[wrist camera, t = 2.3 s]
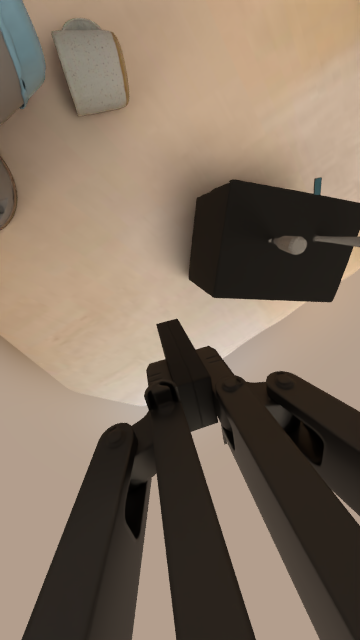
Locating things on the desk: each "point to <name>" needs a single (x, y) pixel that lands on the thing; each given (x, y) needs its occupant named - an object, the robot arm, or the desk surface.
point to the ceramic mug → (92, 66)
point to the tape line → (317, 186)
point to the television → (271, 243)
